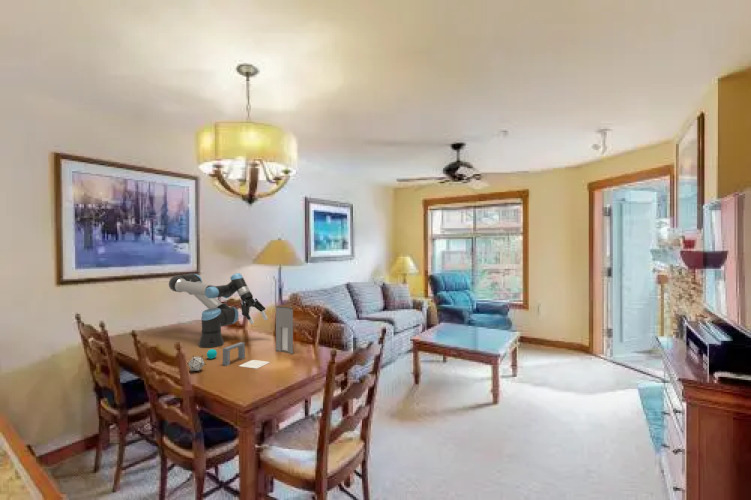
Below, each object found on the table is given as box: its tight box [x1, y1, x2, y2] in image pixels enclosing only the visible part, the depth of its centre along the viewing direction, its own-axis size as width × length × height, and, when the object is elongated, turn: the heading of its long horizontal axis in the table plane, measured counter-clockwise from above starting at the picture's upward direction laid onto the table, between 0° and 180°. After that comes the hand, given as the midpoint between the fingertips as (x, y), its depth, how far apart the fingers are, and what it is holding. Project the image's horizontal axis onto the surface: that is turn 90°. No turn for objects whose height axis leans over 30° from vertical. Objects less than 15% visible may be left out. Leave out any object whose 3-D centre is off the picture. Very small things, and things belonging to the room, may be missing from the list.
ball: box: [206, 348, 218, 360], centre depth 223 cm, size 6×6×6 cm
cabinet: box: [275, 302, 294, 355], centre depth 241 cm, size 21×10×28 cm, turn 17°
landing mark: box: [238, 359, 271, 370], centre depth 213 cm, size 12×12×1 cm
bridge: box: [222, 341, 246, 367], centre depth 218 cm, size 3×14×9 cm, turn 160°
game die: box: [186, 355, 207, 373], centre depth 201 cm, size 9×8×10 cm
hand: (259, 321), depth 255 cm, fingers open, 13 cm apart
